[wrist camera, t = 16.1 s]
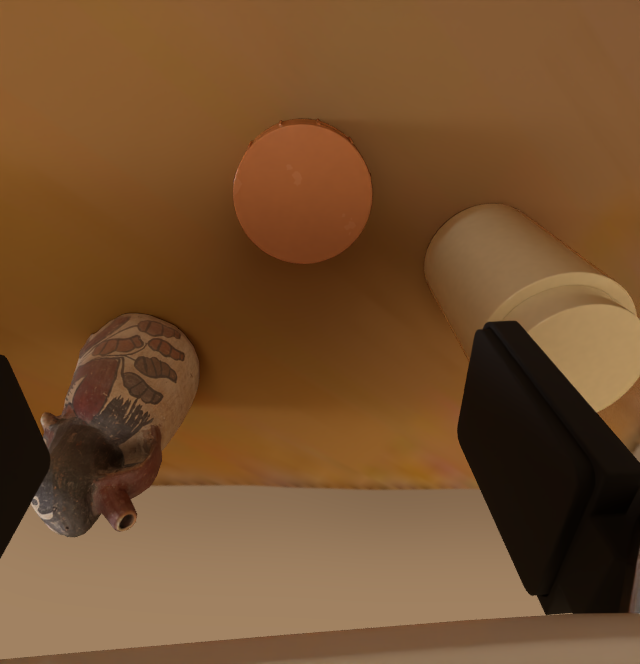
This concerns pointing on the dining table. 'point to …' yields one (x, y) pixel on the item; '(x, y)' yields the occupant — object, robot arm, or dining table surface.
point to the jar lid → (302, 191)
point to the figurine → (115, 423)
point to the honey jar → (536, 297)
